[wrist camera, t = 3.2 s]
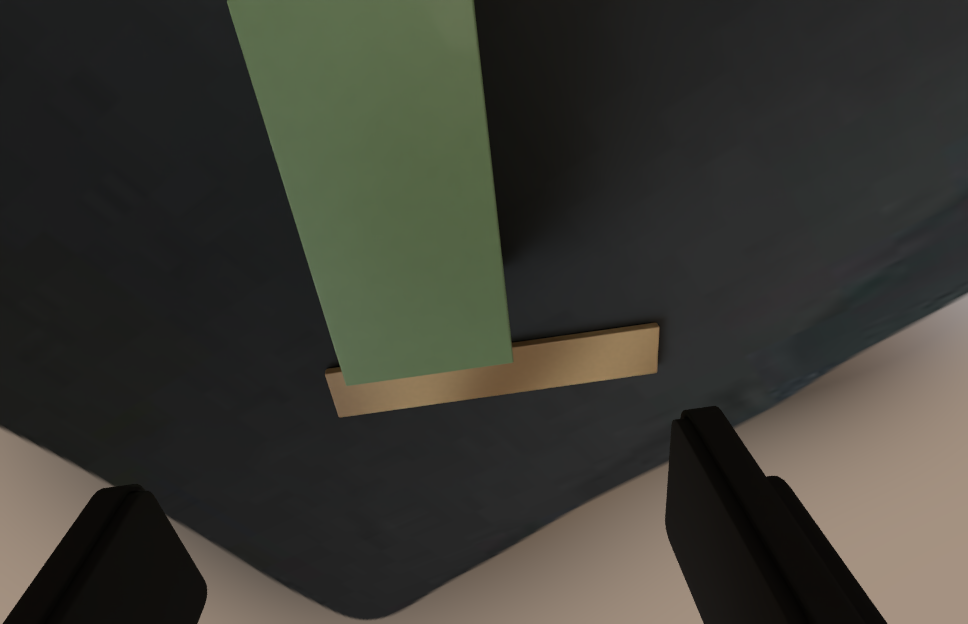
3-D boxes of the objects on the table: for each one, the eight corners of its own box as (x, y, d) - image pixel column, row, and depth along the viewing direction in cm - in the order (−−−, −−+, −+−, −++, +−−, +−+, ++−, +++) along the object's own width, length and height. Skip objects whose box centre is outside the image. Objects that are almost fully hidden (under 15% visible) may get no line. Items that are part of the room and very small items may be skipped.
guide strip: (340, 412, 24) (338, 417, 24) (325, 368, 23) (324, 374, 23) (654, 367, 24) (657, 373, 24) (656, 321, 23) (659, 326, 23)
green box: (367, 291, 21) (346, 387, 16) (292, -4, 16) (225, -1, 11) (495, 273, 21) (514, 363, 16) (459, -27, 16) (470, -35, 11)
